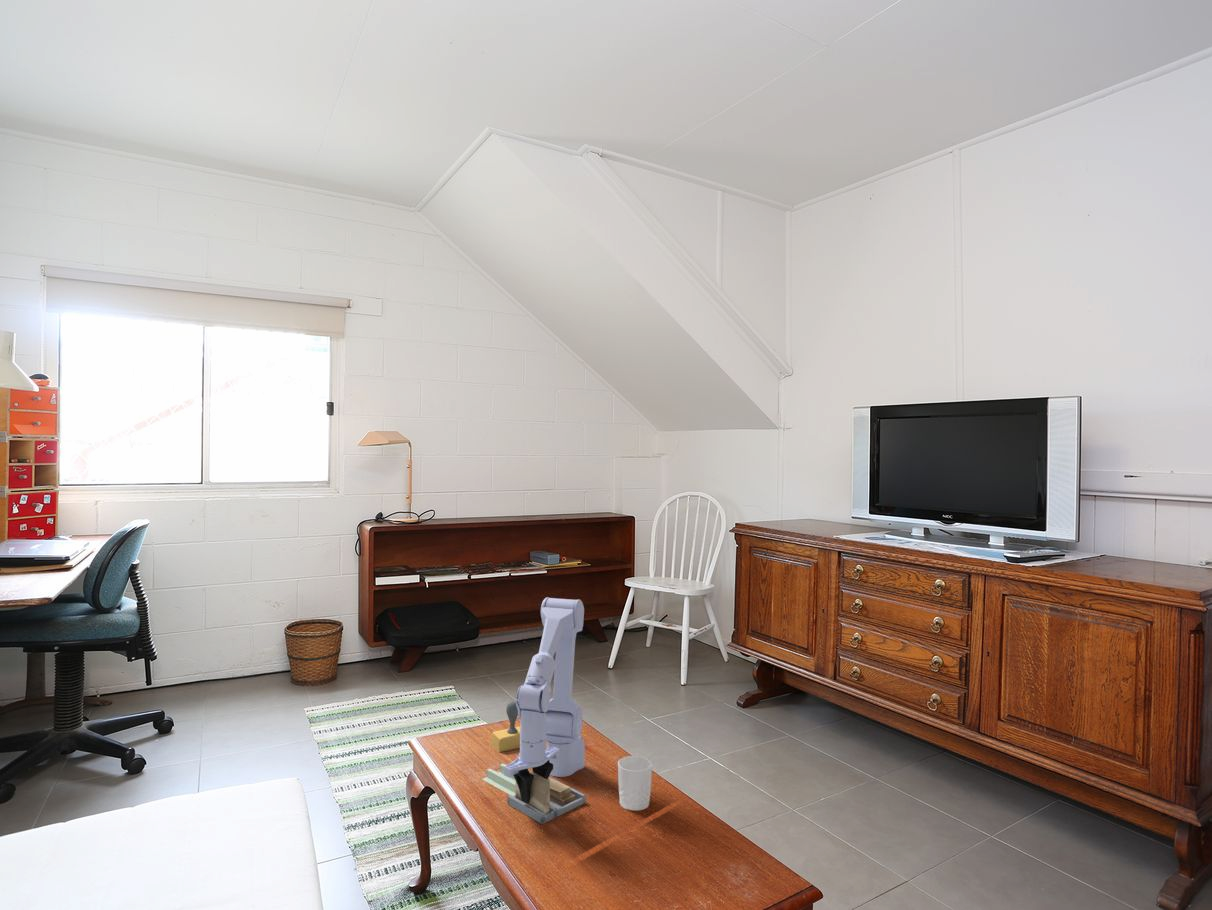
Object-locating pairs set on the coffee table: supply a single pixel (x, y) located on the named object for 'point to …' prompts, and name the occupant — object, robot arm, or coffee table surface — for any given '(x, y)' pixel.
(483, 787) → the coffee table surface
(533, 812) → the tray
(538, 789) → the birch sheet
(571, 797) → the offcut lower
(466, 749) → the coffee table surface
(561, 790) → the offcut upper
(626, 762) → the white cup
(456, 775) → the coffee table surface
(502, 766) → the stand
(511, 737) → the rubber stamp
